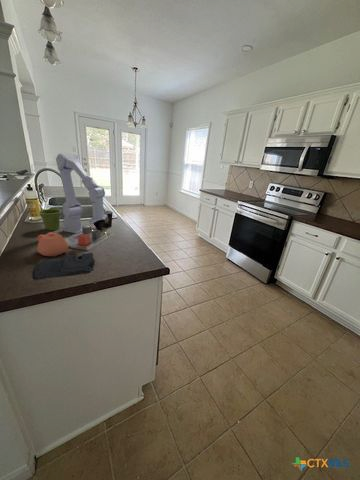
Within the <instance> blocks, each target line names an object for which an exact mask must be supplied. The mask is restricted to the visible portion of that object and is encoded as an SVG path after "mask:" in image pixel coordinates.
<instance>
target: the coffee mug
mask: <svg viewBox="0 0 360 480" xmlns="http://www.w3.org/2000/svg"><path fill="white" fill-rule="evenodd" d="M104 214H106V215H107V216H108V218H106V219H104V220H105V223H104V226H103V229H109V228H111V227H112V225H113V211H112V210H104Z"/></svg>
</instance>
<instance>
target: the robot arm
mask: <svg viewBox="0 0 360 480" xmlns="http://www.w3.org/2000/svg"><path fill="white" fill-rule="evenodd" d="M55 162H56V166H57V169H58V171H59V175H60V178H61V179H60V180H61V184H62V188H63V192H64V196H65V202H64V203H63V204H62V214H63V216H64V217H63V219H62V220H63V221H62V223H63V232H68V233H73V234H77V233H79V232H82V228H83V227H82V218H81V217H82V215H83V213H84V208H83V206H82V203H80V202H79V201H78V200H77V198H76V193H75V189H74V183H73V180H72V174H71V173H72V171H74V172H75V173H76V175H78V176H79V177H80V179H81V183H82V185H84V187H85V188H86V190H87V191H88V195H89V196H88V197H89V198H90V202H91V207H92V217H91V218H90V219H89V220H88V224H90V225H94V226H95V230H100V231H101V233H102V232H103V230H104V227H103V226H104V223H105V220H104V219H106V218H108V216H107V215H106V214H104V211H105V210H104V209H105V208H104V197H105V196H106V191H105V189H104V187H102V186H100V185H98V184H97V182H96V181H95V180H94V178H93V176H91V175H88V174H87V172H86V170H85V169H84V168H83V166H82V165H81V160H80V159H79V157H78V155H75V154H63V153H59V154H57V156H56V158H55Z"/></svg>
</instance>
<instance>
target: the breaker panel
mask: <svg viewBox="0 0 360 480" xmlns="http://www.w3.org/2000/svg"><path fill="white" fill-rule="evenodd" d="M95 230H96V229H91V233H89V234H88V235H90V243H89V244H87V245H80V244H79V243H78V236H79V235H81V234H83V232H82V231H80V232H78V233H74V234H73V235H70V236H68V237H66V238H65V237H64V239H65V240H66V242H67V244H68V248H72V249H77V250H83V251H86V252H87V251H90V250H91V249H93V248H94V247H96V246H98V245H99V244H101V243H103V242H105V241H107V240H108V239H110V238H112V237H114V233H113V232H107V231H102V233H101V237H99V238H97V239H96V238H92V231H95Z"/></svg>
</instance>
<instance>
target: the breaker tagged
mask: <svg viewBox="0 0 360 480" xmlns="http://www.w3.org/2000/svg"><path fill="white" fill-rule="evenodd" d="M94 230H95V231H92V238H96V239H97V238H99V237H101V231H100V230H96V229H94Z"/></svg>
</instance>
